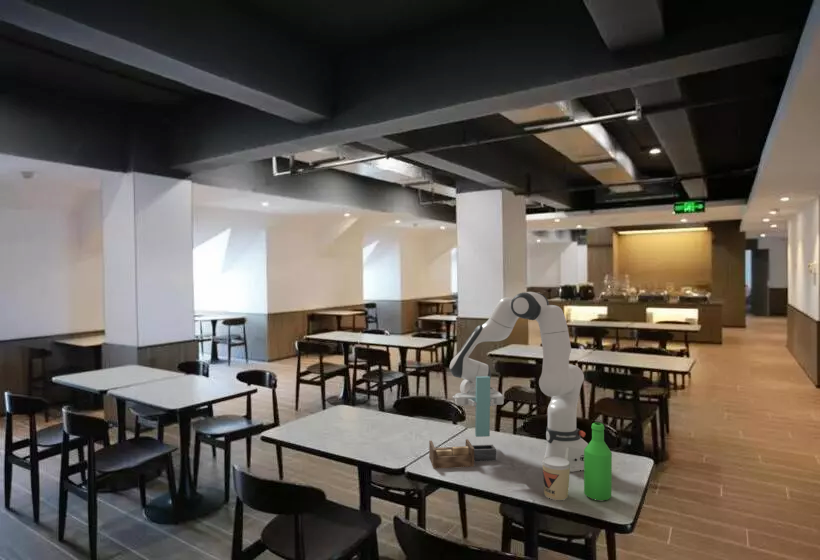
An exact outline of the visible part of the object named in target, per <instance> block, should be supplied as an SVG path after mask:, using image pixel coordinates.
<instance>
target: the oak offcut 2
mask: <svg viewBox="0 0 820 560" xmlns="http://www.w3.org/2000/svg"><path fill="white" fill-rule="evenodd" d="M452 447H453V455H468V446H466V445H465V446H464V445H463V446H452Z"/></svg>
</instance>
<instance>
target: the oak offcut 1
mask: <svg viewBox="0 0 820 560" xmlns="http://www.w3.org/2000/svg"><path fill="white" fill-rule="evenodd" d="M449 455H452V450H451V449H447V450H436V456H449Z"/></svg>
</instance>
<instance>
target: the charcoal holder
mask: <svg viewBox="0 0 820 560" xmlns="http://www.w3.org/2000/svg"><path fill="white" fill-rule="evenodd" d="M471 445H472V446H473V448H474V463H476V462H477V463H478V462H495V461H497V448H496V447H495V446H494V444H471Z"/></svg>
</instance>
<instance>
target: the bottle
mask: <svg viewBox="0 0 820 560" xmlns="http://www.w3.org/2000/svg"><path fill="white" fill-rule="evenodd" d="M604 430H605V425H604V423H602V422H593V423H592V424H591V440H590V441H589V442H588V445H587V446H586V448H585V449H584V470H583V494H584V495H586V496H587V497H588V498H589V497H590V498H592V499H591V500H593V499H596V500H606V501H608V500H609V499H611V498H612V487H613V486H612V485H613V484H612V481H613V479H612V477H613V476H612V475H613V473H612V471H613V469H612V468H613V467H612V466H613V464H612V463H613V462H612V461H613V458H612V457H613V456H612V455H613V454H612V451H611V450H610V448H609V446H608V444H606V442H605V431H604ZM590 498H589V499H590ZM596 500H595V501H596Z"/></svg>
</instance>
